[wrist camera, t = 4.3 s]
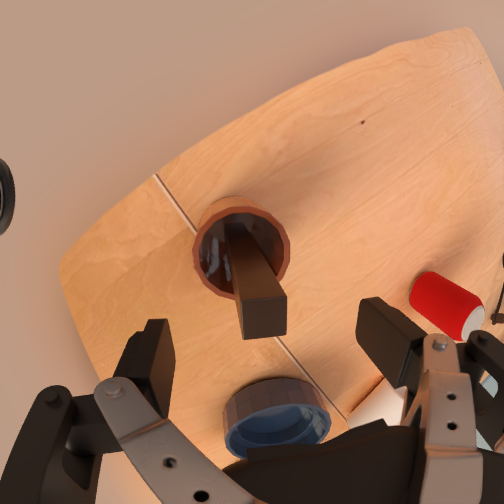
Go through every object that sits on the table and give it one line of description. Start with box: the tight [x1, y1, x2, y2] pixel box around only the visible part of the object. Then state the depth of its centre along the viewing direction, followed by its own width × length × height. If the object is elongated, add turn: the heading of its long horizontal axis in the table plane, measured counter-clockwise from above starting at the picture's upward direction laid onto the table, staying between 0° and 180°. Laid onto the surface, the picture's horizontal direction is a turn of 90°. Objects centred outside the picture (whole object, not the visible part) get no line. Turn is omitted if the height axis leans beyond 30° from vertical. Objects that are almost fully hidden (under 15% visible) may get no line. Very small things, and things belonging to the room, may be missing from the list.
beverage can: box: [409, 272, 485, 341], centre depth 30 cm, size 6×6×12 cm
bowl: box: [223, 378, 332, 460], centre depth 35 cm, size 15×15×6 cm
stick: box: [224, 222, 287, 340], centre depth 20 cm, size 2×2×18 cm
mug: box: [347, 378, 407, 429], centre depth 37 cm, size 12×10×8 cm
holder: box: [192, 196, 290, 300], centre depth 25 cm, size 7×7×9 cm
